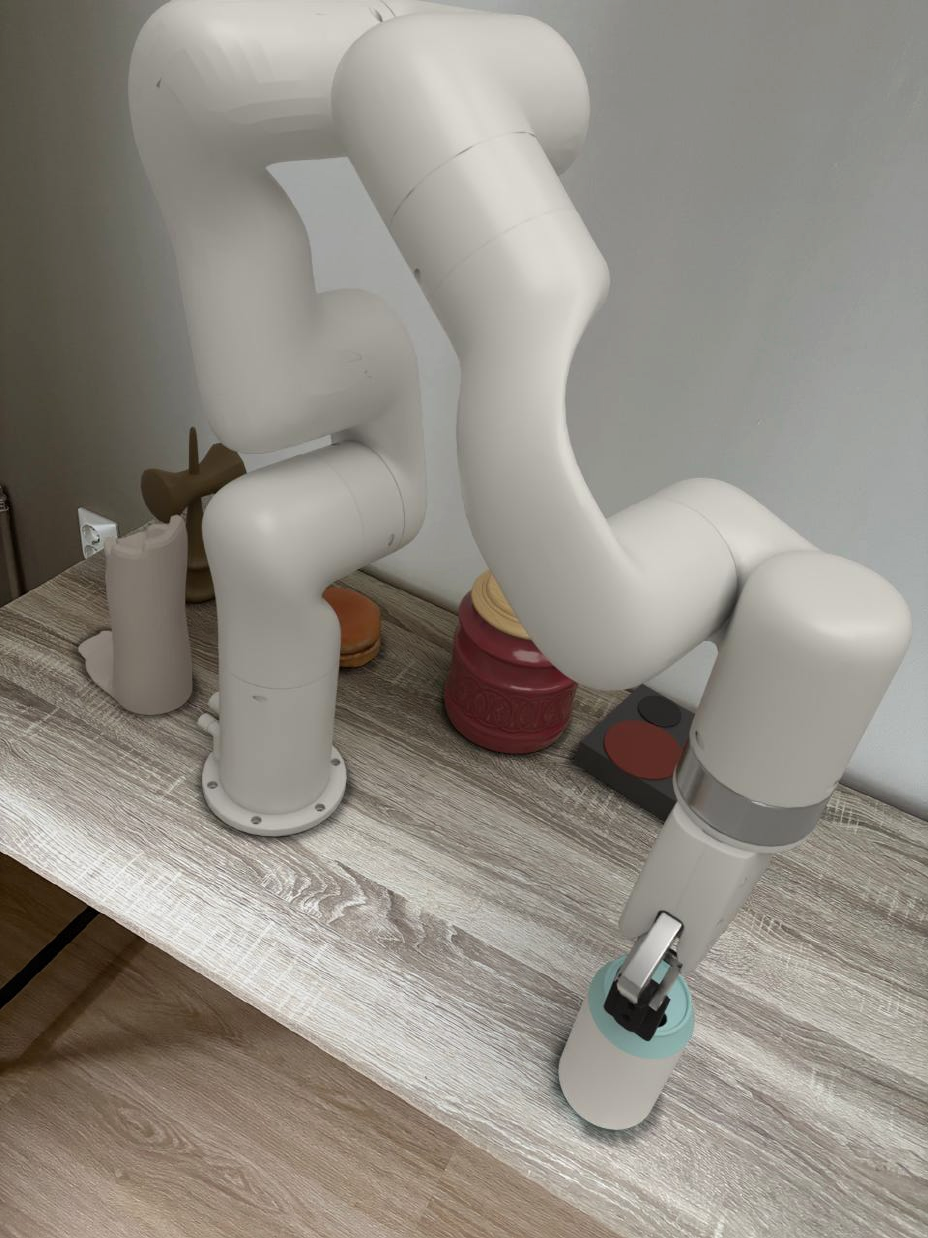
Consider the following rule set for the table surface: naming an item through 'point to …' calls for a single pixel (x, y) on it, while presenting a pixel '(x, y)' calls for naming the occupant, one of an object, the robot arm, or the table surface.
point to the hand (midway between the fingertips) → (666, 968)
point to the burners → (646, 741)
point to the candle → (145, 622)
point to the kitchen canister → (503, 678)
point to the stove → (596, 762)
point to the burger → (355, 625)
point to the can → (622, 1054)
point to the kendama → (192, 504)
